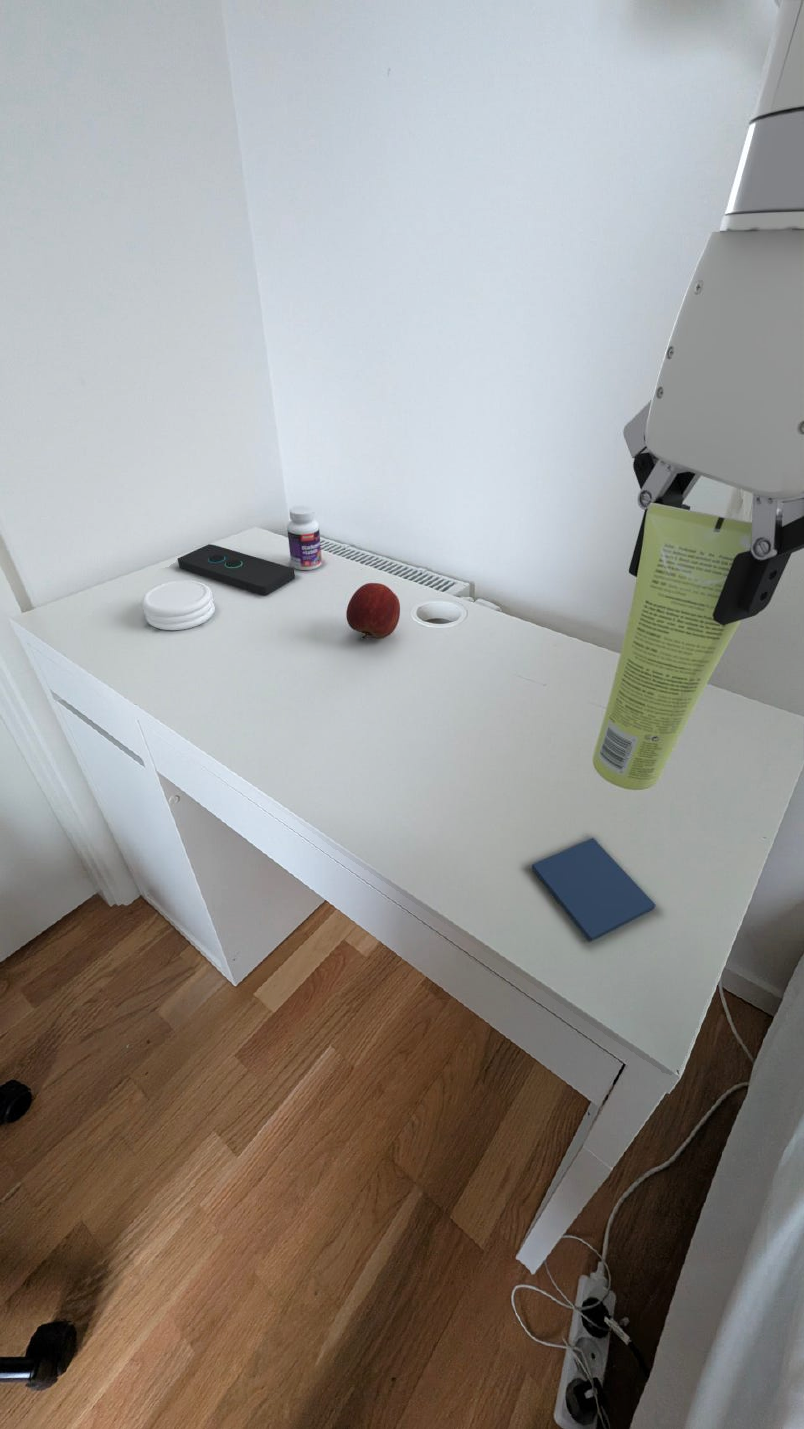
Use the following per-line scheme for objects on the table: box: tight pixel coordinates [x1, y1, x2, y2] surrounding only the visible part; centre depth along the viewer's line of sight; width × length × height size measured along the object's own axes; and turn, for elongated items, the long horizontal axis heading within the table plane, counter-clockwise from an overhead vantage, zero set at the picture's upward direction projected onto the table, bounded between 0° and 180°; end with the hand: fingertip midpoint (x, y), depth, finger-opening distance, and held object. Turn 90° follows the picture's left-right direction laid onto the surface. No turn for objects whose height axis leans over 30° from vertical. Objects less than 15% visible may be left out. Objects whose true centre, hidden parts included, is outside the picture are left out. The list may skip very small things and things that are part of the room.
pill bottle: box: [286, 505, 323, 571], centre depth 99 cm, size 5×5×10 cm
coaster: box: [141, 579, 216, 631], centre depth 87 cm, size 10×10×4 cm
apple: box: [345, 582, 401, 639], centre depth 81 cm, size 7×8×8 cm
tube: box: [592, 503, 752, 791], centre depth 38 cm, size 6×5×20 cm
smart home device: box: [177, 543, 296, 596], centre depth 99 cm, size 8×2×20 cm
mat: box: [531, 837, 656, 943], centre depth 51 cm, size 8×7×1 cm
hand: (690, 590), depth 34 cm, fingers closed on tube, 5 cm apart
